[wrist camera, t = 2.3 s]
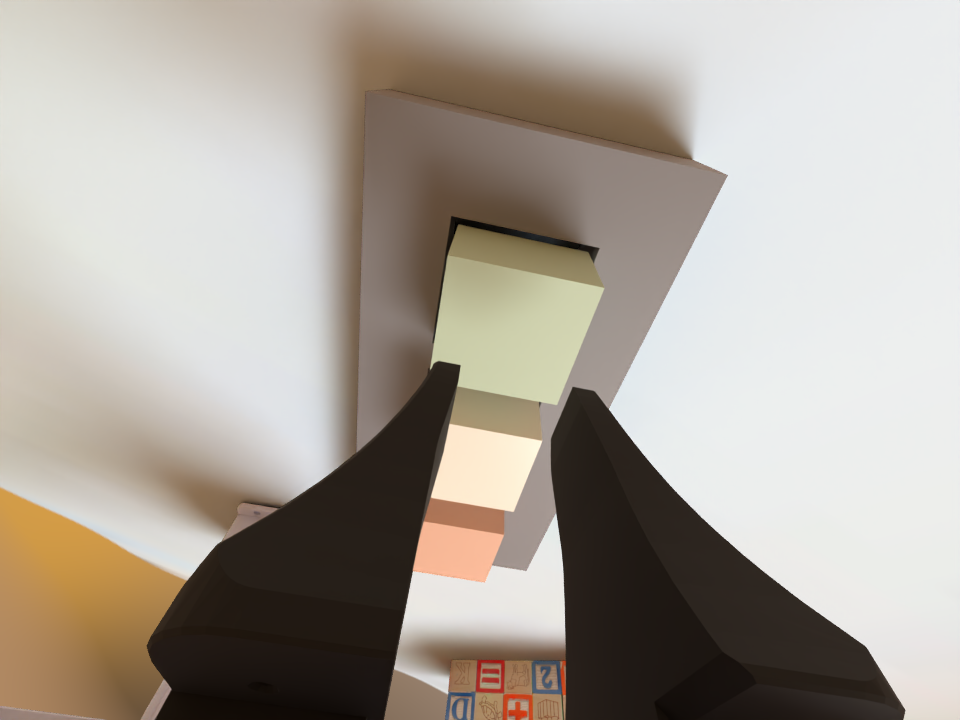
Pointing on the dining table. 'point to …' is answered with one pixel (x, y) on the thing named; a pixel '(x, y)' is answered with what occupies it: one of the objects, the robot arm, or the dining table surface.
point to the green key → (514, 313)
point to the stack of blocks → (506, 690)
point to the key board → (520, 206)
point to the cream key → (488, 449)
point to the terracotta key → (459, 540)
